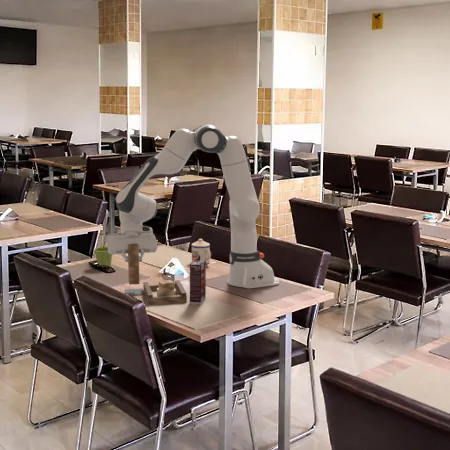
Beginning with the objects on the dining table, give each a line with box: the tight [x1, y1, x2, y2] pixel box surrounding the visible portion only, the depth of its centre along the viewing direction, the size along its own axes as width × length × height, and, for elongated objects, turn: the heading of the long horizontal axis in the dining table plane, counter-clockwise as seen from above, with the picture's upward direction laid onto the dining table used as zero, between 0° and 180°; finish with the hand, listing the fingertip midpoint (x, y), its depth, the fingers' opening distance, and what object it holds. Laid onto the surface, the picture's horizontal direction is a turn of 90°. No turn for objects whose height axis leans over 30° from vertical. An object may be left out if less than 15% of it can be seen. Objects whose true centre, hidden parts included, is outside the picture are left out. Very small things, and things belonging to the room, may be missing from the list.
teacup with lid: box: [191, 238, 212, 265], centre depth 320 cm, size 12×9×12 cm
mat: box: [124, 287, 145, 296], centre depth 272 cm, size 7×8×1 cm
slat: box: [127, 243, 140, 285], centre depth 270 cm, size 4×4×16 cm
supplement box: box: [189, 260, 207, 305], centre depth 259 cm, size 9×5×16 cm, turn 168°
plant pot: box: [93, 246, 113, 268], centre depth 312 cm, size 9×9×9 cm
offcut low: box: [156, 288, 177, 296], centre depth 264 cm, size 7×5×4 cm
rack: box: [142, 279, 188, 305], centre depth 268 cm, size 15×20×4 cm
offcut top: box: [158, 279, 175, 291], centre depth 264 cm, size 5×4×3 cm
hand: (133, 261), depth 269 cm, fingers closed on slat, 4 cm apart
